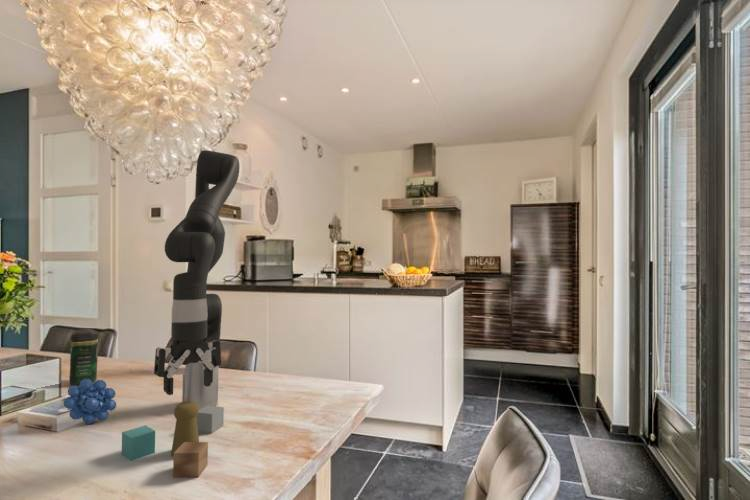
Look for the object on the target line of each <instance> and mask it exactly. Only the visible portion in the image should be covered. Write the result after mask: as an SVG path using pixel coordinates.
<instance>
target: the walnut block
mask: <svg viewBox="0 0 750 500" xmlns="http://www.w3.org/2000/svg"><path fill="white" fill-rule="evenodd" d="M208 447H209V441H199V442H184V443H183V444H182V445H181V446H180V447H179V448H178V449H177V450H176V451H175V452H174V457H172V458H173V465H172V466H173V467H172V470H173V471H172V477H173V478H174V479H175V478H176V479H178V478H179V479H182V478H183V479H184V478H185V479H186V478H189V479H190V478H192V479H193V478H194V479H195V478H199V477H200V476H201V475H202V473H203V472H204V471H205V470H206V468H207V467H208V465H209V464H208V462H209V461H208V460H209V459H208V457H209V456H208V455H209V454H208V453H209V448H208Z"/></svg>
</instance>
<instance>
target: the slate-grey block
mask: <svg viewBox="0 0 750 500" xmlns="http://www.w3.org/2000/svg"><path fill="white" fill-rule="evenodd" d="M224 409H225V408H224V407H223V406H217V405H216V406H205V407H203V408H202V409H200V410H199V412H198V415H197V416H196V419H197V428H198V433H202V434H214V433H215V432H217V431H218V430H220V429H221V428H222V427H224V418H225V417H224V415H225V414H224V411H225V410H224Z"/></svg>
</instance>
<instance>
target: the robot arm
mask: <svg viewBox="0 0 750 500" xmlns="http://www.w3.org/2000/svg"><path fill="white" fill-rule="evenodd" d="M195 171H196V172H195V188H194V189H195V190H194V191H195V193H194V195H195V196H194V200H193V201H192V202H191V203H190V205H189V208H188V210H187V212H186V215H185V217H184V218H183V219H182V220H181V221H180V222H179V223H178V224H177V225H176V226H175V227H174V228H173V229H172V230H171V231H170V232H169V234H168V235H167V238H166V239H165V242H164V252H165V255H166V257H167V258H168V260H169V261H171V262H174V263H187V269H186V272H181V273H178V274H176V275H174V278H173V283H172V287H173V289H172V290H173V291H172V305H171V326H170V327H171V331H170V332H171V333H170V334H171V336H170V337H171V338H170V339H171V343H170V347H157V348H156V349H155V354H154V355H155V357H154V366H153V368H154V369H153V374H154V375H155V376H156V377H159V378H162V379H163V392H164V393H166V395H168V396H172V395H174V377H173V376H174V374H176V372H177V370H179V369H180V367H181V366H182V365H183V366H185V369H184V370H185V372H184V373H183V374H182V396H181V398H182V399H181V400H182V401H181V403H183V402H189V401H191V402H195V403H197V404H198V406H199V410H200V409H202V408H203V407H205V406H216V407H217V406H218V404H219V373H220V372H219V369H220V368H219V367H220V366H221V365H222V353H221V349H222V348H221V341H220V339H221V327H222V315H223V307H222V306H223V305H222V299H221V297H220V296H219V295H218V294H217V293H207V284H208V283H207V282H208V275H209V273H210V272H211V270H213V268H214V267H215V266H216V265H217V263H218V261H220V259H221V257H222V254H223V251H224V247H225V246H224V244H225V239H226V238H225V237H226V230H225V227H224V225H223V223H222V220H221V219H220V218H221V217H219V215H220V212H221V210H222V208H223V206H224V205H225V203H226V201H227V200H228V198H229V197H230V195H231V194H232V192H233V189H234V188H235V187H236V184H237V182H238V179H239V176H240V175H239V174H240V161H239V158H238V157H237V156H235V155H233V154H229V153H223V152H219V151H213V150H206V149H204V150H203V149H202V150H201V151H200V153H199V154H198V157H197V161H196V170H195ZM210 185H213V186H212V187H211V188H210ZM169 354H170V355H171V356H172V357H171V359H170V360H169V362H168V364H167V366H166V364H165V363H166V359H167V357H169V356H168V355H169ZM165 366H166V367H165Z"/></svg>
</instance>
